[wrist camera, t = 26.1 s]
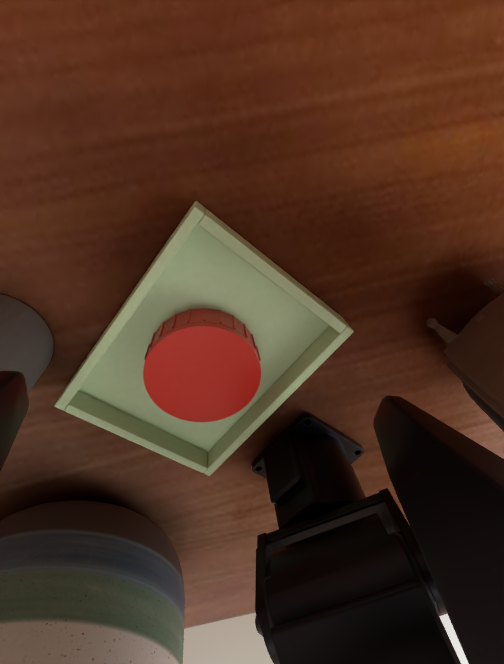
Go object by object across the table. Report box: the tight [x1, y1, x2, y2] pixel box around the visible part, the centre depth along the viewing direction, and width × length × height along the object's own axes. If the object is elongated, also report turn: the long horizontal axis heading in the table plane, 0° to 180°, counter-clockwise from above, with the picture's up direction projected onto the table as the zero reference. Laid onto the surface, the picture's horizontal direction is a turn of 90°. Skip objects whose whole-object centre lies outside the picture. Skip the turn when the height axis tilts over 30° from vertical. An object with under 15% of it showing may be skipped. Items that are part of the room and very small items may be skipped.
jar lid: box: [143, 308, 261, 422], centre depth 20 cm, size 7×7×2 cm
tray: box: [54, 201, 354, 476], centre depth 21 cm, size 11×14×2 cm
